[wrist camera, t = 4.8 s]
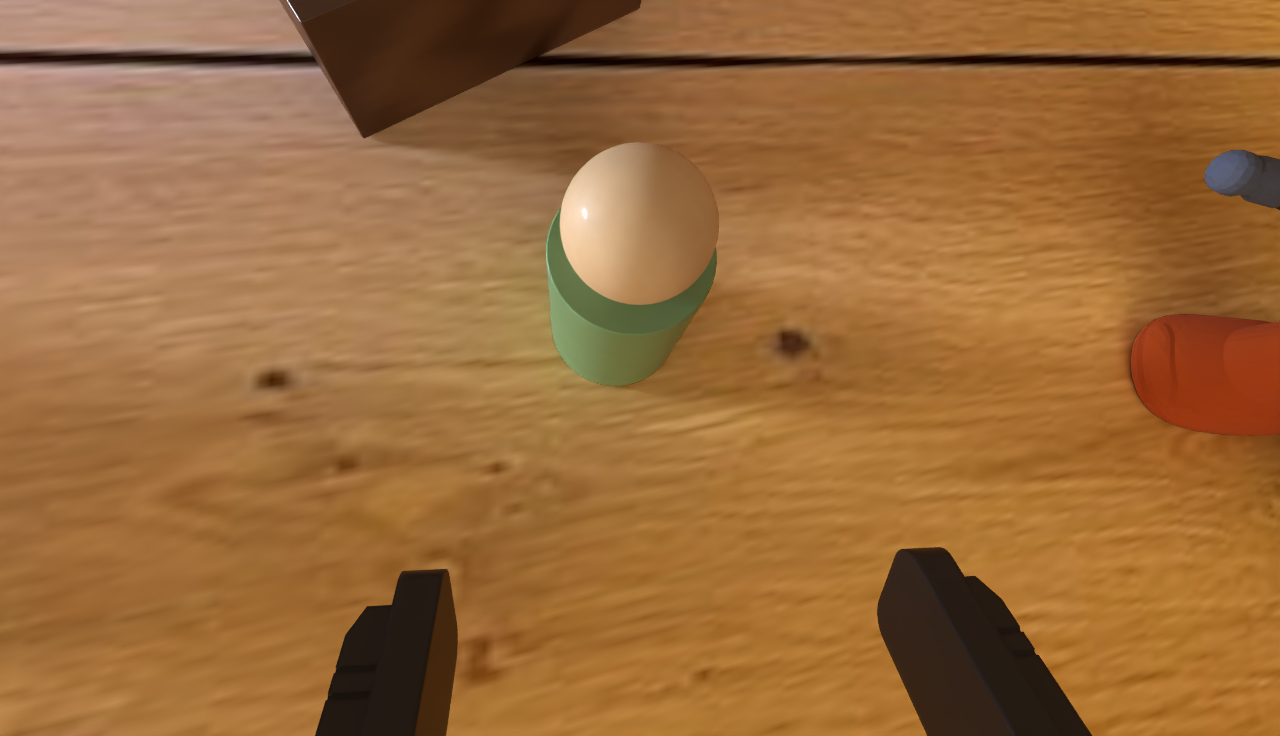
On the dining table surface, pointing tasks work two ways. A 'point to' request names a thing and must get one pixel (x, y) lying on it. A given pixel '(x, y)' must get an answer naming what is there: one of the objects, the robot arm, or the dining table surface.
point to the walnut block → (432, 46)
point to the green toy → (629, 261)
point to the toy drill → (1216, 339)
